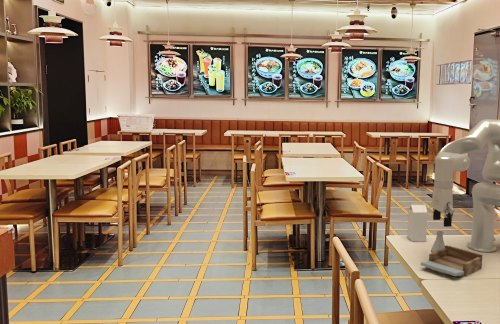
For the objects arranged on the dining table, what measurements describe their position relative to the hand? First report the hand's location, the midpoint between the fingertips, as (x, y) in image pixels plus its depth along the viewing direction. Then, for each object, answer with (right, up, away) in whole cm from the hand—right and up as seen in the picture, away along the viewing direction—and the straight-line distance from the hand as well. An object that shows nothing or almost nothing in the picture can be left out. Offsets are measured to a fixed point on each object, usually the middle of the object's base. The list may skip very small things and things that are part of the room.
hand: (441, 223), depth 203 cm
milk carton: (+1, -13, +34) cm, 36 cm away
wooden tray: (+4, -18, -3) cm, 19 cm away
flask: (+5, -16, +15) cm, 22 cm away
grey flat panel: (-2, -17, -8) cm, 19 cm away
